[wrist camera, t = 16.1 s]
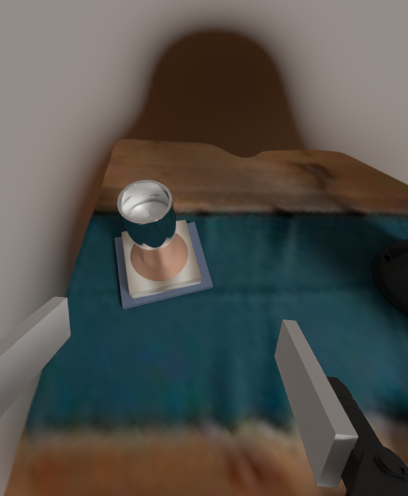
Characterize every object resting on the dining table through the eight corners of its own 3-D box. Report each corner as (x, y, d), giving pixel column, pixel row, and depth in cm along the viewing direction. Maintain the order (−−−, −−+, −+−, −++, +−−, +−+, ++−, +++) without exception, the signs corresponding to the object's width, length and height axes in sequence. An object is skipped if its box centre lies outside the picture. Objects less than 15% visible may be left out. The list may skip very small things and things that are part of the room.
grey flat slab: (194, 225, 51) (194, 221, 50) (212, 287, 45) (212, 285, 44) (116, 240, 48) (114, 237, 47) (124, 309, 42) (122, 307, 41)
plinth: (185, 227, 49) (185, 219, 46) (200, 283, 44) (201, 277, 41) (125, 240, 47) (121, 231, 44) (133, 299, 42) (129, 293, 39)
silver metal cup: (137, 241, 44) (111, 184, 30) (174, 232, 45) (166, 173, 31) (143, 277, 41) (119, 230, 27) (184, 266, 42) (179, 217, 28)
